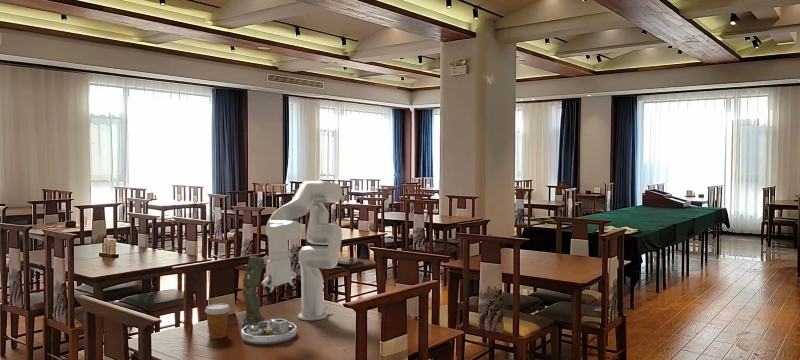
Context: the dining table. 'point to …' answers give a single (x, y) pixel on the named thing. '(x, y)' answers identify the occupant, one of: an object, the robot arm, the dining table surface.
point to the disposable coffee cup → (217, 319)
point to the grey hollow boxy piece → (279, 326)
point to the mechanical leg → (252, 290)
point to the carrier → (266, 333)
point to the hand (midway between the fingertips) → (280, 298)
